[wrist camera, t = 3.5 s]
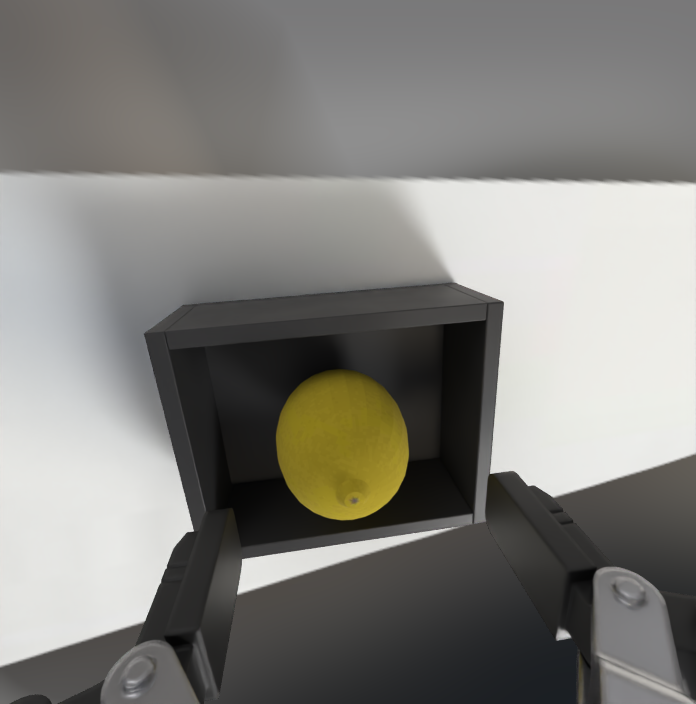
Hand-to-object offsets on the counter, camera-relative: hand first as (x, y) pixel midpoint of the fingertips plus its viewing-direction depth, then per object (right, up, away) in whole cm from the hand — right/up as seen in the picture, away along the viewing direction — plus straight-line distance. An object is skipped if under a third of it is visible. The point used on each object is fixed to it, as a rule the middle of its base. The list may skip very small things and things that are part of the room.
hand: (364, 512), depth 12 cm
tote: (-1, +3, +8) cm, 9 cm away
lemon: (-1, +3, +8) cm, 9 cm away
